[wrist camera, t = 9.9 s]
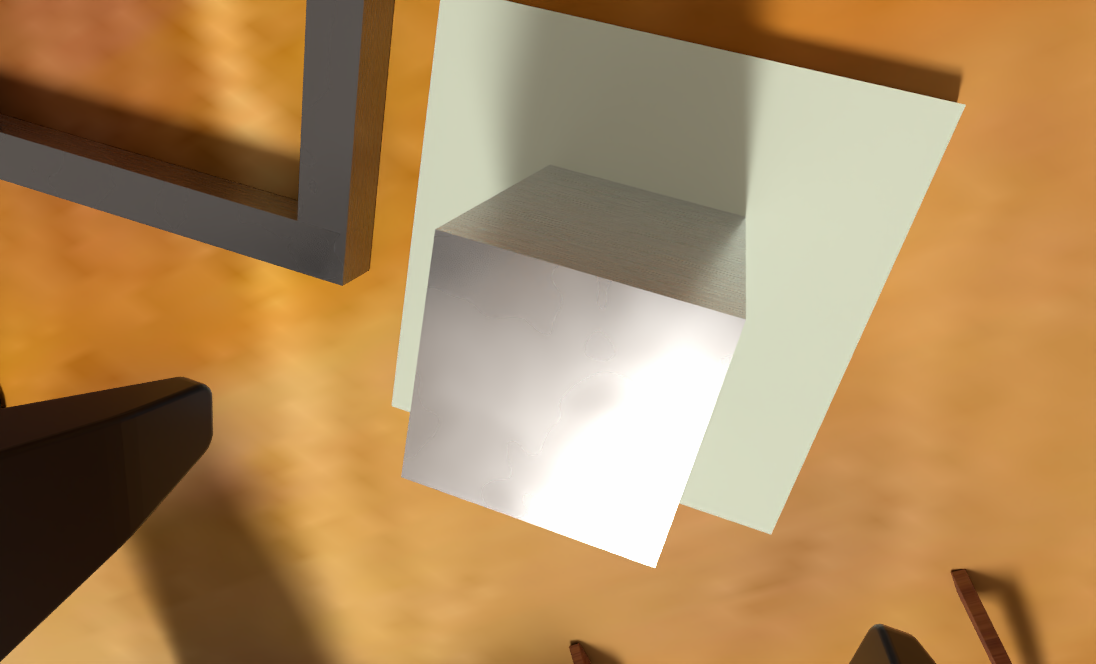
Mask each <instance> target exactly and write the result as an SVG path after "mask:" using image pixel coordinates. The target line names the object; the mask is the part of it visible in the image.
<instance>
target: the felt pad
mask: <svg viewBox="0 0 1096 664" xmlns="http://www.w3.org/2000/svg"><path fill="white" fill-rule="evenodd" d="M965 106H966V105H964V104H960V103H956V102H951V101H947V100H942V99H938V98H934V97H929V96H925V95H920V94H916V93H912V92H907V91H903V90H898V89H894V88H889V87H885V86H881V85H876V84H872V83H867V82H863V81H859V80H854V79H850V78H845V77H841V76H836V75H832V74H828V73H823V72H819V71H814V70H810V69H806V68H801V67H797V66H792V65H788V64H784V63H779V62H775V61H770V60H766V59H761V58H757V57H753V56H748V55H744V54H739V53H735V52H731V51H726V50H722V49H717V48H713V47H708V46H704V45H700V44H695V43H691V42H686V41H682V40H678V39H673V38H669V37H664V36H660V35H656V34H651V33H647V32H642V31H638V30H633V29H629V28H625V27H620V26H616V25H611V24H607V23H603V22H598V21H594V20H589V19H585V18H580V17H576V16H572V15H567V14H563V13H558V12H554V11H550V10H545V9H541V8H536V7H532V6H528V5H523V4H519V3H514V2H510V1H505V0H440V7H439V16H438V24H437V32H436V41H435V49H434V57H433V65H432V74H431V82H430V90H429V99H428V107H427V115H426V124H425V132H424V140H423V149H422V157H421V165H420V174H419V182H418V190H417V199H416V207H415V215H414V224H413V232H412V240H411V249H410V257H409V265H408V274H407V282H406V290H405V299H404V307H403V315H402V324H401V332H400V340H399V349H398V357H397V365H396V374H395V382H394V390H393V399H392V406H393V407H396V408H399V409H402V410H405V411H408V412H410V410H411V403H412V396H413V388H414V381H415V374H416V366H417V359H418V352H419V344H420V337H421V330H422V322H423V315H424V308H425V300H426V293H427V286H428V278H429V271H430V264H431V256H432V249H433V242H434V234H435V229H436V228H438V227H440V226H442V225H444V224H445V223H447V222H449V221H451V220H452V219H454V218H456V217H458V216H459V215H461V214H463V213H465V212H467V211H468V210H470V209H472V208H474V207H475V206H477V205H479V204H481V203H482V202H484V201H486V200H488V199H490V198H491V197H493V196H495V195H497V194H498V193H500V192H502V191H504V190H505V189H507V188H509V187H511V186H513V185H514V184H516V183H518V182H520V181H521V180H523V179H525V178H527V177H528V176H530V175H532V174H534V173H536V172H537V171H539V170H541V169H543V168H544V167H546V166H548V165H553V166H557V167H561V168H564V169H568V170H572V171H576V172H579V173H583V174H587V175H591V176H594V177H598V178H602V179H606V180H609V181H613V182H617V183H621V184H624V185H628V186H632V187H636V188H639V189H643V190H647V191H651V192H655V193H658V194H662V195H666V196H670V197H673V198H677V199H681V200H685V201H688V202H692V203H696V204H700V205H703V206H707V207H711V208H715V209H718V210H722V211H726V212H730V213H733V214H737V215H741V216H745V217H746V321H745V324H744V326H743V329H742V332H741V335H740V337H739V340H738V343H737V346H736V348H735V351H734V354H733V356H732V359H731V362H730V365H729V367H728V370H727V373H726V375H725V378H724V381H723V384H722V386H721V389H720V392H719V394H718V397H717V400H716V403H715V405H714V408H713V411H712V414H711V416H710V419H709V422H708V424H707V427H706V430H705V433H704V435H703V438H702V441H701V443H700V446H699V449H698V452H697V454H696V457H695V460H694V462H693V465H692V468H691V471H690V473H689V476H688V479H687V482H686V484H685V487H684V490H683V492H682V495H681V498H680V501H679V503H680V504H683V505H686V506H689V507H692V508H694V509H697V510H700V511H703V512H706V513H709V514H712V515H715V516H718V517H721V518H724V519H727V520H730V521H733V522H736V523H739V524H742V525H745V526H748V527H751V528H754V529H756V530H759V531H762V532H765V533H768V534H771V533H772V531H773V529H774V527H775V525H776V522H777V520H778V518H779V516H780V514H781V511H782V509H783V507H784V505H785V503H786V500H787V498H788V496H789V494H790V491H791V489H792V487H793V485H794V483H795V480H796V478H797V476H798V474H799V472H800V469H801V467H802V465H803V463H804V461H805V458H806V456H807V454H808V452H809V450H810V447H811V445H812V443H813V441H814V439H815V436H816V434H817V432H818V430H819V428H820V425H821V423H822V421H823V419H824V416H825V414H826V412H827V410H828V408H829V405H830V403H831V401H832V399H833V397H834V394H835V392H836V390H837V388H838V386H839V383H840V381H841V379H842V377H843V375H844V372H845V370H846V368H847V366H848V364H849V361H850V359H851V357H852V355H853V353H854V350H855V348H856V346H857V344H858V342H859V339H860V337H861V335H862V333H863V330H864V328H865V326H866V324H867V322H868V319H869V317H870V315H871V313H872V311H873V308H874V306H875V304H876V302H877V300H878V297H879V295H880V293H881V291H882V289H883V286H884V284H885V282H886V280H887V278H888V275H889V273H890V271H891V269H892V267H893V264H894V262H895V260H896V258H897V255H898V253H899V251H900V249H901V247H902V244H903V242H904V240H905V238H906V236H907V233H908V231H909V229H910V227H911V225H912V222H913V220H914V218H915V216H916V214H917V211H918V209H919V207H920V205H921V203H922V200H923V198H924V196H925V194H926V192H927V189H928V187H929V185H930V183H931V180H932V178H933V176H934V174H935V172H936V169H937V167H938V165H939V163H940V161H941V158H942V156H943V154H944V152H945V150H946V147H947V145H948V143H949V141H950V139H951V136H952V134H953V132H954V130H955V128H956V125H957V123H958V121H959V119H960V117H961V114H962V112H963V110H964V108H965Z"/></svg>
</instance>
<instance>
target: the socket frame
mask: <svg viewBox="0 0 1096 664" xmlns="http://www.w3.org/2000/svg"><path fill="white" fill-rule="evenodd" d="M393 10H394V0H307V7H306V30H305V54H304V77H303V101H302V125H301V148H300V172H299V196H298V201H297V200H293V199H290V198H286V197H283V196H280V195H276V194H273V193H269V192H266V191H263V190H259V189H256V188H252V187H249V186H245V185H242V184H239V183H235V182H232V181H228V180H225V179H222V178H218V177H215V176H211V175H208V174H204V173H201V172H198V171H194V170H191V169H187V168H184V167H181V166H177V165H174V164H170V163H167V162H163V161H160V160H157V159H153V158H150V157H146V156H143V155H139V154H136V153H133V152H129V151H126V150H122V149H119V148H116V147H112V146H109V145H105V144H102V143H98V142H95V141H92V140H88V139H85V138H81V137H78V136H75V135H71V134H68V133H64V132H61V131H57V130H54V129H51V128H47V127H44V126H40V125H37V124H34V123H30V122H27V121H23V120H20V119H16V118H13V117H10V116H6V115H3V114H0V179H1V180H5V181H8V182H11V183H14V184H17V185H21V186H24V187H27V188H30V189H33V190H37V191H40V192H43V193H46V194H50V195H53V196H56V197H59V198H62V199H66V200H69V201H72V202H75V203H78V204H82V205H85V206H88V207H91V208H94V209H98V210H101V211H104V212H107V213H111V214H114V215H117V216H120V217H123V218H127V219H130V220H133V221H136V222H139V223H143V224H146V225H149V226H152V227H155V228H159V229H162V230H165V231H168V232H172V233H175V234H178V235H181V236H184V237H188V238H191V239H194V240H197V241H200V242H204V243H207V244H210V245H213V246H216V247H220V248H223V249H226V250H229V251H233V252H236V253H239V254H242V255H245V256H249V257H252V258H255V259H258V260H261V261H265V262H268V263H271V264H274V265H277V266H281V267H284V268H287V269H290V270H294V271H297V272H300V273H303V274H306V275H310V276H313V277H316V278H319V279H322V280H326V281H329V282H332V283H335V284H339V285H342V286H343V285H345V284H346V283H348V282H350V281H352V280H353V279H355V278H357V277H359V276H360V275H362V274H364V273H365V272H367V271H369V267H370V256H371V245H372V235H373V224H374V213H375V202H376V192H377V181H378V170H379V160H380V149H381V138H382V127H383V117H384V106H385V95H386V85H387V74H388V63H389V52H390V42H391V31H392V20H393Z"/></svg>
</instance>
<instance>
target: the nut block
mask: <svg viewBox="0 0 1096 664" xmlns="http://www.w3.org/2000/svg"><path fill="white" fill-rule="evenodd" d="M745 321H746V217H745V216H741V215H737V214H733V213H730V212H726V211H722V210H718V209H715V208H711V207H707V206H703V205H700V204H696V203H692V202H688V201H685V200H681V199H677V198H673V197H670V196H666V195H662V194H658V193H655V192H651V191H647V190H643V189H639V188H636V187H632V186H628V185H624V184H621V183H617V182H613V181H609V180H606V179H602V178H598V177H594V176H591V175H587V174H583V173H579V172H576V171H572V170H568V169H564V168H561V167H557V166H553V165H548V166H546V167H544V168H543V169H541V170H539V171H537V172H536V173H534V174H532V175H530V176H528V177H527V178H525V179H523V180H521V181H520V182H518V183H516V184H514V185H513V186H511V187H509V188H507V189H505V190H504V191H502V192H500V193H498V194H497V195H495V196H493V197H491V198H490V199H488V200H486V201H484V202H482V203H481V204H479V205H477V206H475V207H474V208H472V209H470V210H468V211H467V212H465V213H463V214H461V215H459V216H458V217H456V218H454V219H452V220H451V221H449V222H447V223H445V224H444V225H442V226H440V227H438V228H436V229H435V234H434V242H433V249H432V256H431V264H430V271H429V278H428V286H427V293H426V300H425V308H424V315H423V322H422V330H421V337H420V344H419V352H418V359H417V366H416V374H415V381H414V388H413V396H412V403H411V410H410V418H409V425H408V432H407V440H406V447H405V454H404V462H403V469H402V476H401V477H403V478H405V479H408V480H411V481H414V482H417V483H419V484H422V485H425V486H428V487H431V488H433V489H436V490H439V491H442V492H444V493H447V494H450V495H453V496H456V497H458V498H461V499H464V500H467V501H470V502H472V503H475V504H478V505H481V506H484V507H486V508H489V509H492V510H495V511H498V512H500V513H503V514H506V515H509V516H512V517H514V518H517V519H520V520H523V521H526V522H528V523H531V524H534V525H537V526H540V527H542V528H545V529H548V530H551V531H554V532H556V533H559V534H562V535H565V536H568V537H570V538H573V539H576V540H579V541H582V542H584V543H587V544H590V545H593V546H596V547H598V548H601V549H604V550H607V551H609V552H612V553H615V554H618V555H621V556H623V557H626V558H629V559H632V560H635V561H637V562H640V563H643V564H646V565H649V566H651V567H654V568H655V566H656V563H657V560H658V558H659V555H660V552H661V550H662V547H663V544H664V541H665V539H666V536H667V533H668V530H669V528H670V525H671V522H672V520H673V517H674V514H675V511H676V509H677V506H678V503H679V501H680V498H681V495H682V492H683V490H684V487H685V484H686V482H687V479H688V476H689V473H690V471H691V468H692V465H693V462H694V460H695V457H696V454H697V452H698V449H699V446H700V443H701V441H702V438H703V435H704V433H705V430H706V427H707V424H708V422H709V419H710V416H711V414H712V411H713V408H714V405H715V403H716V400H717V397H718V394H719V392H720V389H721V386H722V384H723V381H724V378H725V375H726V373H727V370H728V367H729V365H730V362H731V359H732V356H733V354H734V351H735V348H736V346H737V343H738V340H739V337H740V335H741V332H742V329H743V326H744V324H745Z"/></svg>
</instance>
